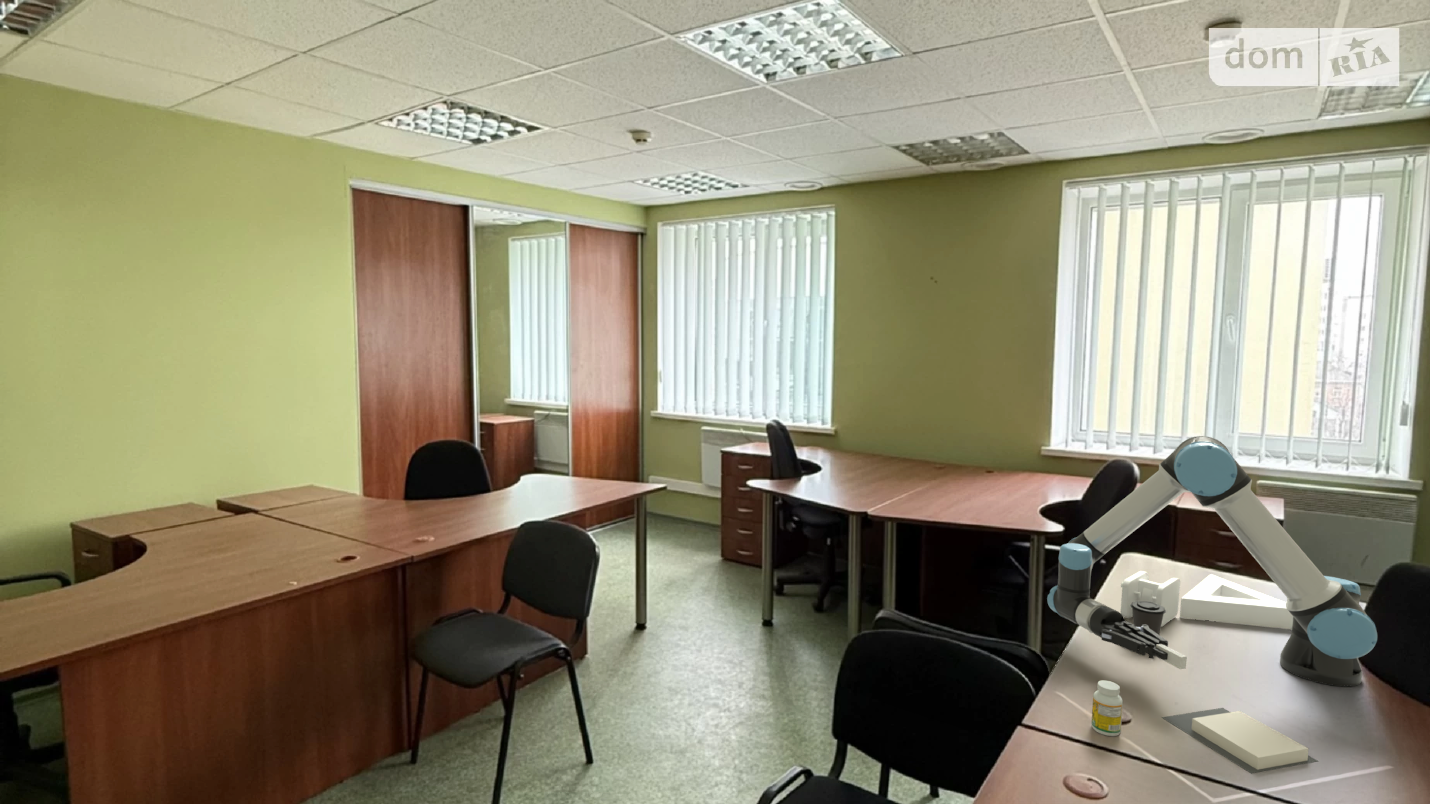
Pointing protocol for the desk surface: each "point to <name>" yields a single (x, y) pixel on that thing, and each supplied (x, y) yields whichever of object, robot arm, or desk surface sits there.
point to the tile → (1250, 740)
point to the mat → (1186, 725)
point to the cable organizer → (1150, 594)
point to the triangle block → (1234, 605)
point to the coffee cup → (1148, 615)
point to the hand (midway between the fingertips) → (1183, 662)
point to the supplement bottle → (1107, 709)
